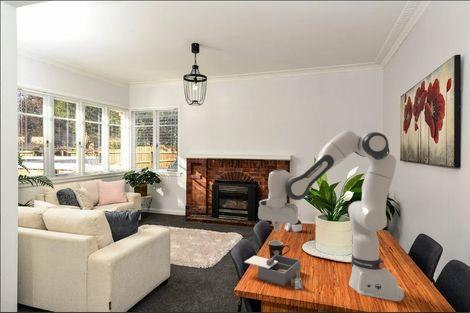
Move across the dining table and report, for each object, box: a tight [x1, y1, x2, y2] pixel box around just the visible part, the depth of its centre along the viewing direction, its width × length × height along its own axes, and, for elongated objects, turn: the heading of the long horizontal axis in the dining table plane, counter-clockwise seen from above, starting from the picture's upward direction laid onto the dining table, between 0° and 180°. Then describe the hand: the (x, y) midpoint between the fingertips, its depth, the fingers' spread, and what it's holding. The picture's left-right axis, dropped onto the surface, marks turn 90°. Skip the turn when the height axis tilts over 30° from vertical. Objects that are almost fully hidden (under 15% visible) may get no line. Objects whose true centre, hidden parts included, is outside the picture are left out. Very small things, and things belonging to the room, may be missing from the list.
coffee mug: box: [268, 240, 290, 259], centre depth 159 cm, size 12×9×10 cm
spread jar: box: [283, 216, 303, 233], centre depth 219 cm, size 12×11×12 cm
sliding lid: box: [243, 255, 278, 269], centre depth 141 cm, size 14×10×2 cm
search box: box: [257, 255, 301, 287], centre depth 140 cm, size 14×20×6 cm
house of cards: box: [290, 269, 304, 290], centre depth 130 cm, size 9×9×8 cm
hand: (277, 230), depth 136 cm, fingers closed
